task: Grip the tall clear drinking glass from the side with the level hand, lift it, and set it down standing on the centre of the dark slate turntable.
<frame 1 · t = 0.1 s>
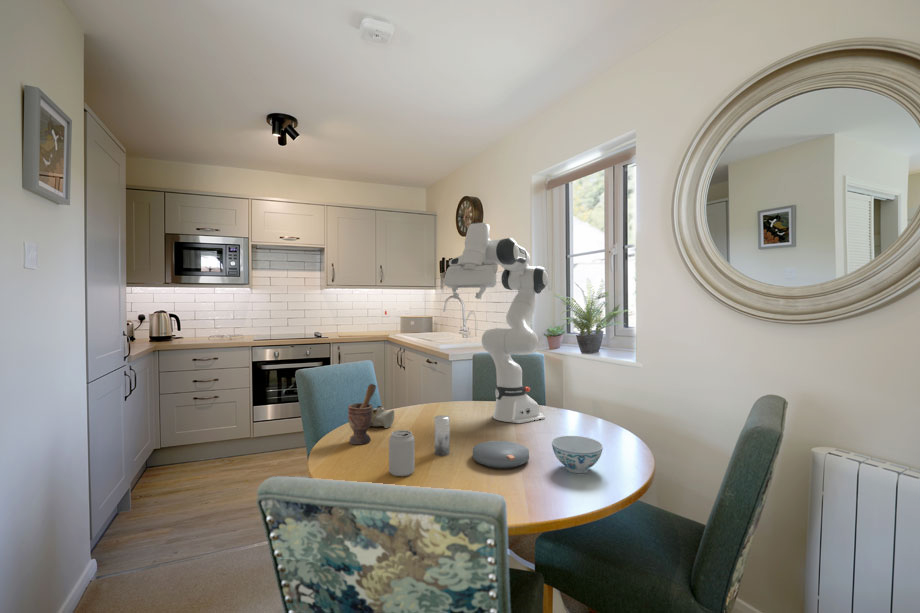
hand: (466, 298, 153), 52 cm above the table, fingers open, 8 cm apart
turntable base: (500, 459, 136), on the table
ceramic sculpture: (378, 426, 173), on the table
can: (401, 473, 126), on the table
mortar and pestle: (362, 440, 156), on the table
clear drinking glass: (442, 453, 143), on the table
chinaware: (576, 469, 129), on the table
turntable: (500, 452, 136), point 2 cm above the table, hinge at 0.0°
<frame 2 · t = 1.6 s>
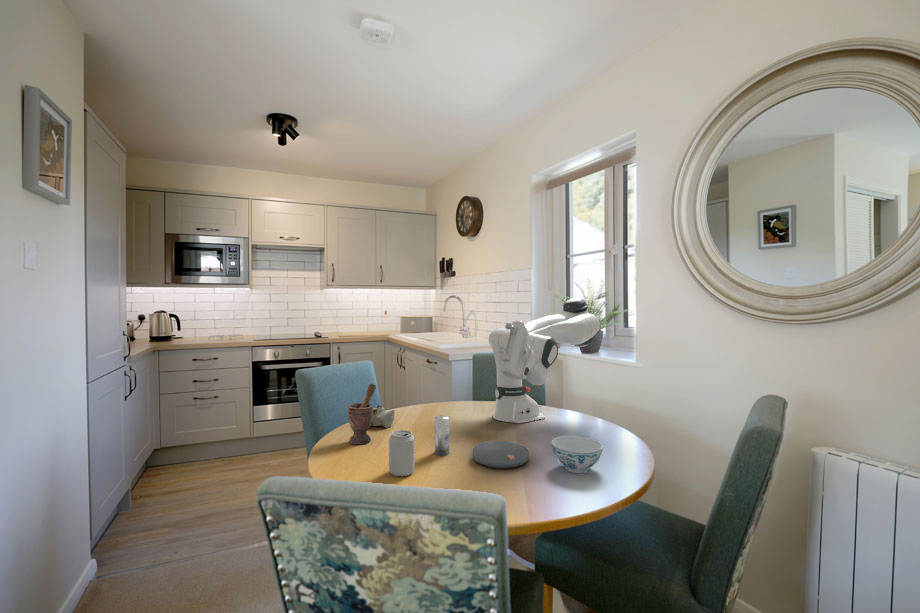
hand: (504, 336, 142), 39 cm above the table, fingers open, 8 cm apart
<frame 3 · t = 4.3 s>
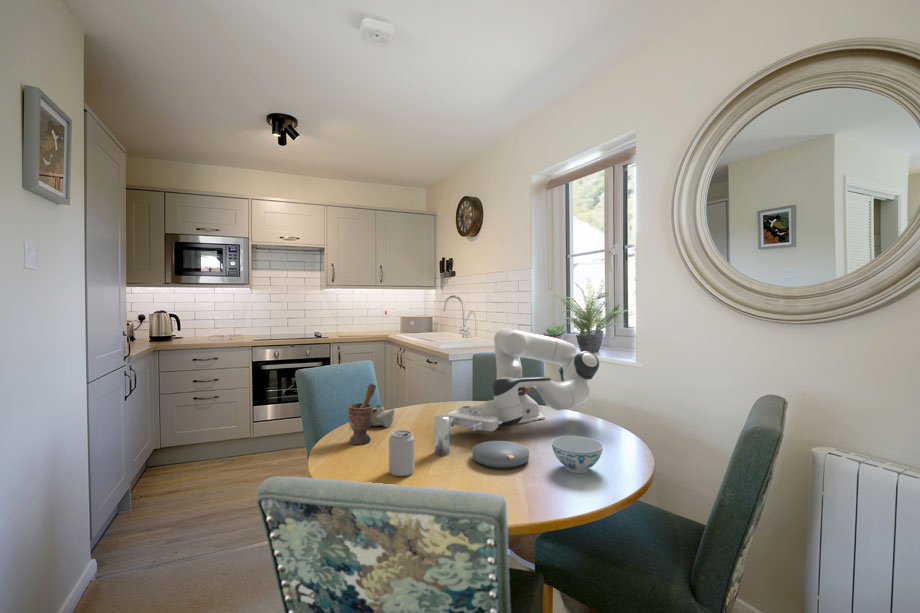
hand: (460, 426, 151), 6 cm above the table, fingers open, 8 cm apart
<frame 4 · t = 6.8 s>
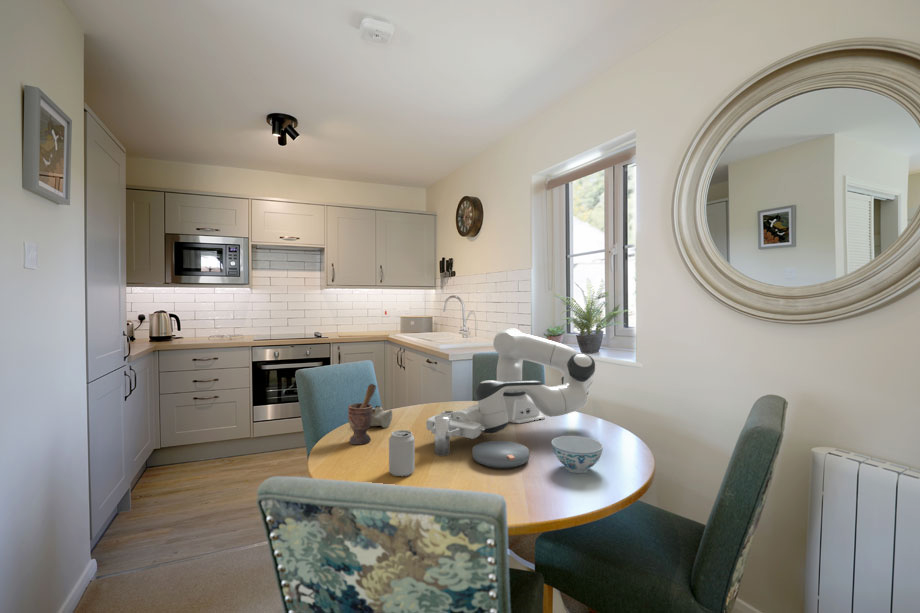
hand: (440, 432, 142), 7 cm above the table, fingers closed on clear drinking glass, 5 cm apart
clear drinking glass: (442, 453, 143), on the table, touching gripper
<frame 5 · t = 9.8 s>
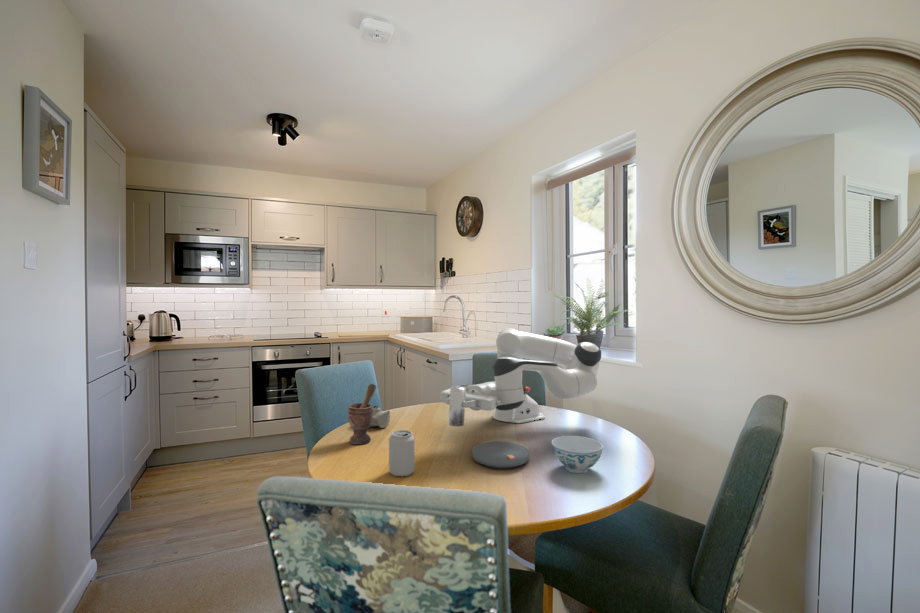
hand: (455, 403, 139), 18 cm above the table, fingers closed on clear drinking glass, 5 cm apart
clear drinking glass: (456, 424, 139), point 11 cm above the table, touching gripper
when the fingers open (11 cm above the table, at t = 12.6 s): clear drinking glass stays where it is, resting on turntable.
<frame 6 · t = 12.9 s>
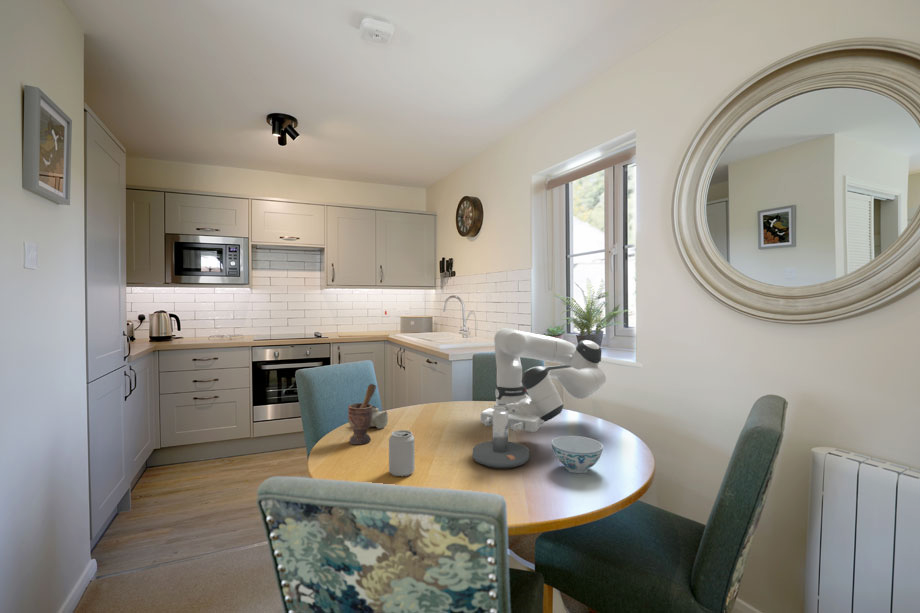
hand: (499, 425, 135), 11 cm above the table, fingers open, 8 cm apart
clear drinking glass: (500, 449, 136), point 3 cm above the table, touching turntable
turntable: (500, 452, 136), point 3 cm above the table, hinge at 0.0°, touching clear drinking glass
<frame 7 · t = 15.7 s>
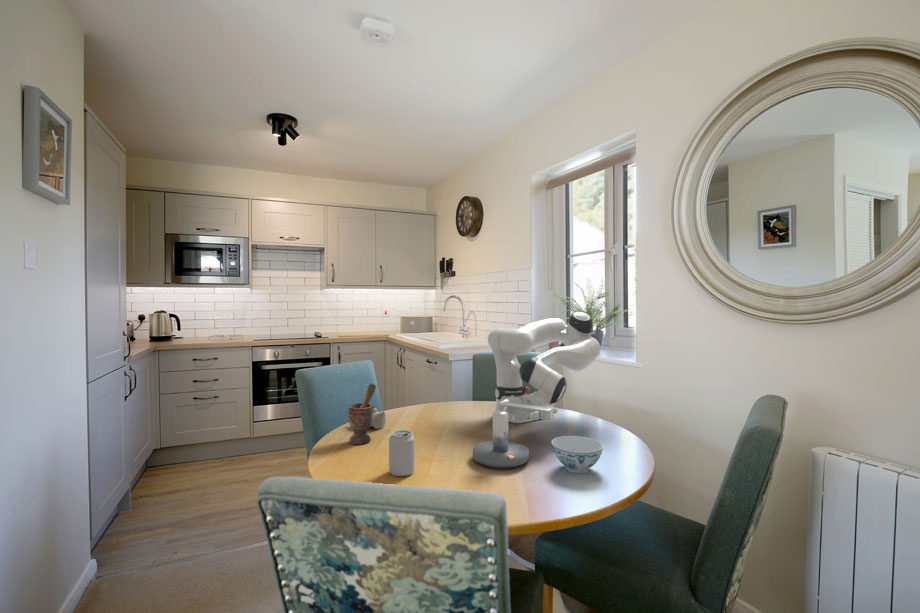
hand: (516, 414, 146), 12 cm above the table, fingers open, 8 cm apart
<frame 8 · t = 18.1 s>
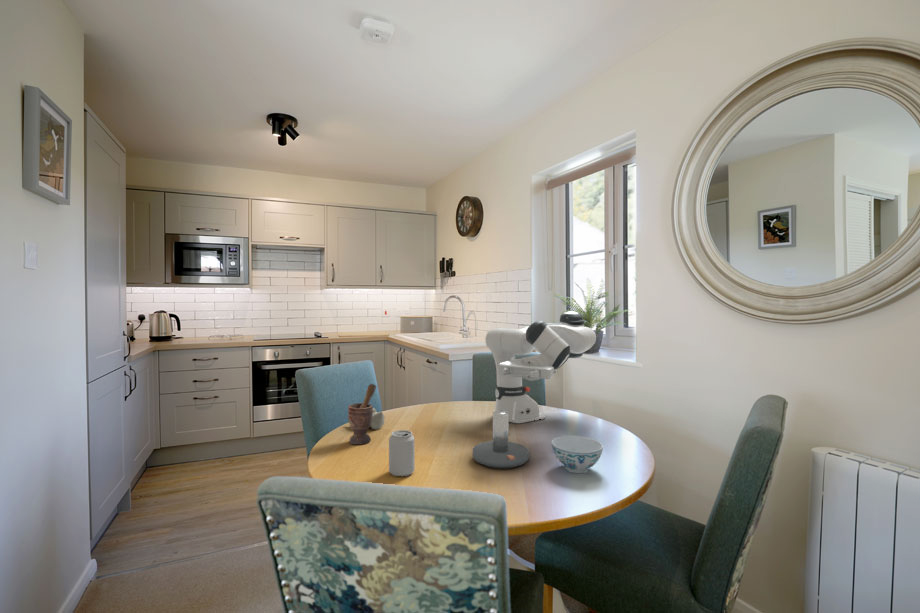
hand: (516, 373, 146), 26 cm above the table, fingers open, 8 cm apart
at the end: clear drinking glass 0.0 cm from the turntable (horizontally); clear drinking glass tilted 0°; clear drinking glass touching turntable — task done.
